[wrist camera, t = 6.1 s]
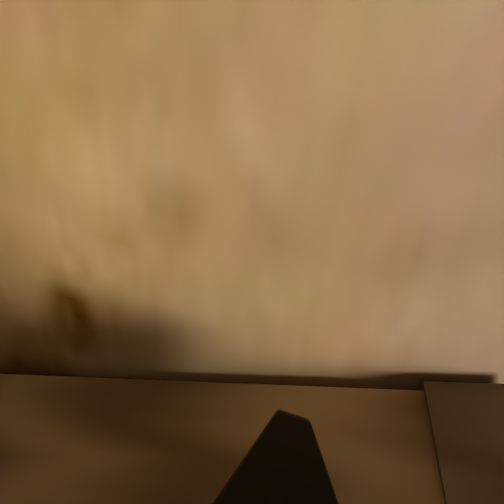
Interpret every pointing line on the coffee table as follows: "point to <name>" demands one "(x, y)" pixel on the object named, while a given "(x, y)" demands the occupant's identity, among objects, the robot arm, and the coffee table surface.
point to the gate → (243, 439)
